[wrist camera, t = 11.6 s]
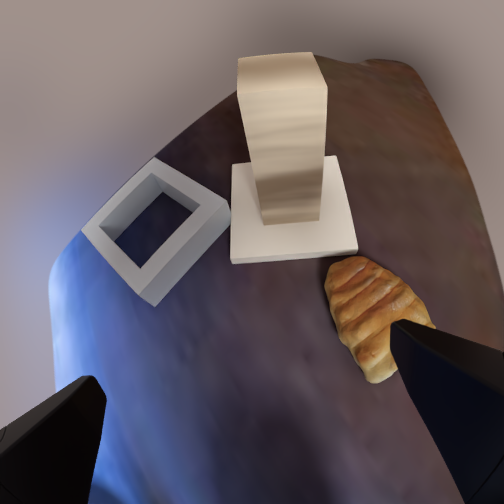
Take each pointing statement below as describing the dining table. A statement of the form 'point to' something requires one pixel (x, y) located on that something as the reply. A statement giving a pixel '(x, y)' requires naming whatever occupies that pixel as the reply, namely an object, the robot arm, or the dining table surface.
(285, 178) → the peg
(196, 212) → the holder
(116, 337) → the dining table surface
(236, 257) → the tile
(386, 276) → the pastry
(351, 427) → the dining table surface
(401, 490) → the dining table surface
